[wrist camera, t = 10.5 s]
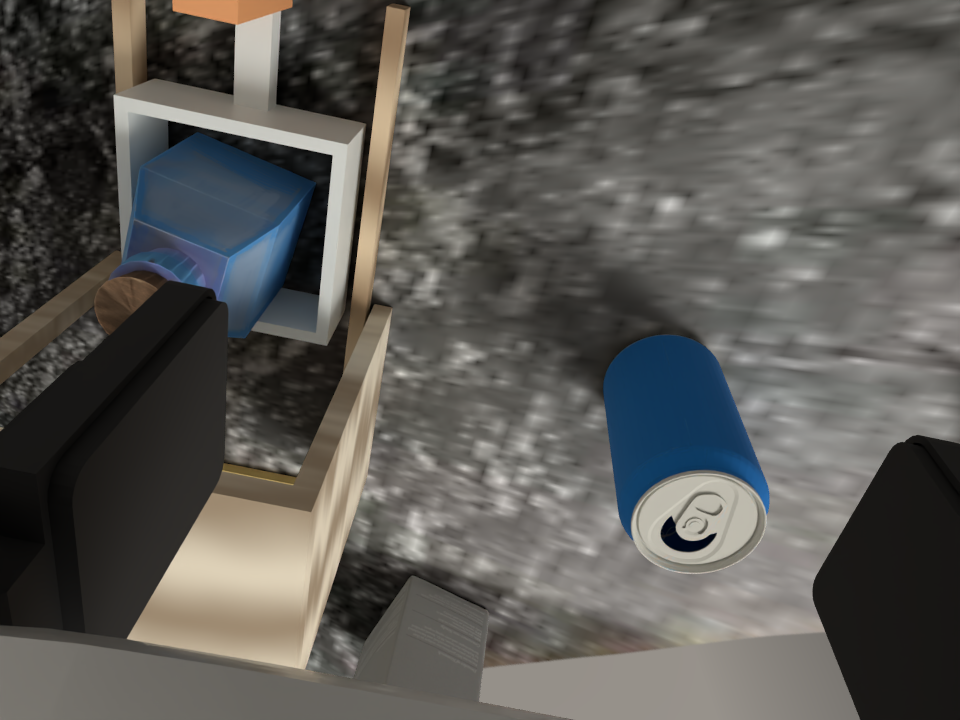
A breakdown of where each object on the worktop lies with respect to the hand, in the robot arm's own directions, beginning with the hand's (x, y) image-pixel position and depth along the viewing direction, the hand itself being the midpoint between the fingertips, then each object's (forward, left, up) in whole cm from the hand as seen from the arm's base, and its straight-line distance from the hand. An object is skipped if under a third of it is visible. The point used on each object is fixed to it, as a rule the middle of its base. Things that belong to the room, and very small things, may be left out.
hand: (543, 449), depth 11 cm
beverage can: (+14, +10, -28) cm, 33 cm away
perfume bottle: (+9, -14, -29) cm, 33 cm away
